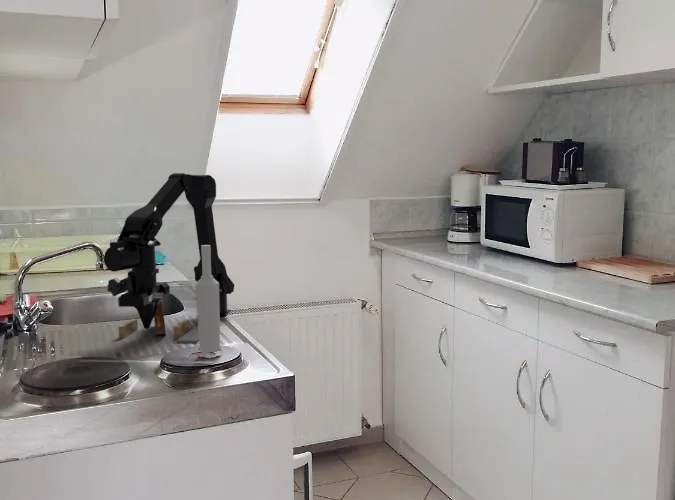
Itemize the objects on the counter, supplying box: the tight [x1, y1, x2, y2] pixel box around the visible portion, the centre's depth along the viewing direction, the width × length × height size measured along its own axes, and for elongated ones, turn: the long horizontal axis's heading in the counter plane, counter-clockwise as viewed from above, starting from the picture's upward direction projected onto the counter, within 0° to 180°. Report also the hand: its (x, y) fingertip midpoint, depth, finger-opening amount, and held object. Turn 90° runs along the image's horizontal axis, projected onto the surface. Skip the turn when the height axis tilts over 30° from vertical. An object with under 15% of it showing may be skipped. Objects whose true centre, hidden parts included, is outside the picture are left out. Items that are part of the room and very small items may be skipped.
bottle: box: [195, 245, 222, 352], centre depth 156 cm, size 5×5×25 cm
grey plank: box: [176, 324, 199, 344], centre depth 177 cm, size 16×5×1 cm, turn 174°
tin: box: [153, 296, 167, 336], centre depth 181 cm, size 15×3×8 cm, turn 15°
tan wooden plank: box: [118, 318, 191, 340], centre depth 178 cm, size 9×15×3 cm, turn 84°
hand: (146, 328), depth 172 cm, fingers closed
